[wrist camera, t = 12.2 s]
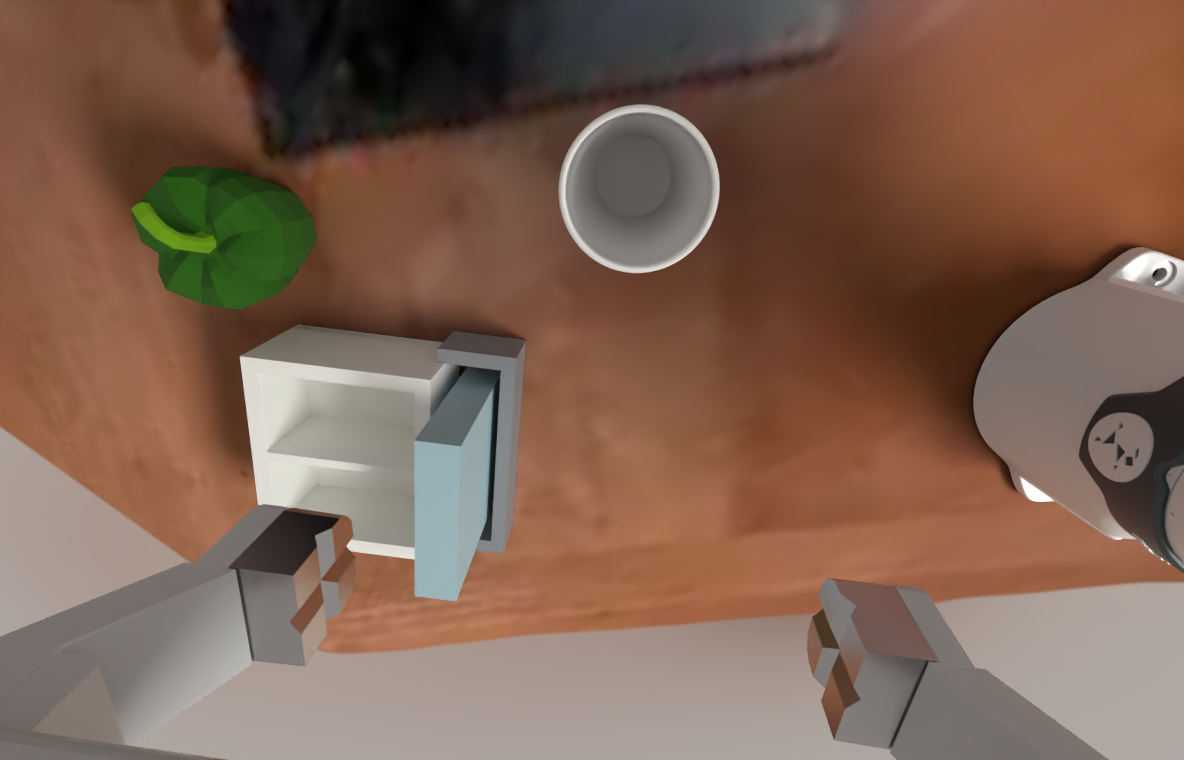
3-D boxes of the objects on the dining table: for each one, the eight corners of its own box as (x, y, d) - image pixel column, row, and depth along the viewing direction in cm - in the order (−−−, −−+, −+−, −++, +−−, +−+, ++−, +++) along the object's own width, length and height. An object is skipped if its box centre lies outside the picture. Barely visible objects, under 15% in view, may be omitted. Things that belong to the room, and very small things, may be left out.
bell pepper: (353, 271, 41) (274, 308, 32) (249, 296, 42) (143, 338, 33) (306, 147, 38) (203, 147, 29) (195, 176, 39) (62, 186, 30)
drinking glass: (616, 248, 39) (610, 304, 25) (561, 158, 37) (523, 165, 24) (705, 193, 38) (751, 221, 24) (653, 95, 36) (670, 63, 22)
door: (503, 369, 43) (460, 446, 32) (496, 494, 47) (456, 601, 36) (468, 364, 43) (414, 440, 32) (464, 490, 47) (414, 595, 36)
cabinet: (526, 339, 42) (507, 374, 36) (512, 522, 48) (495, 580, 42) (297, 311, 42) (237, 341, 36) (312, 496, 48) (264, 551, 42)
